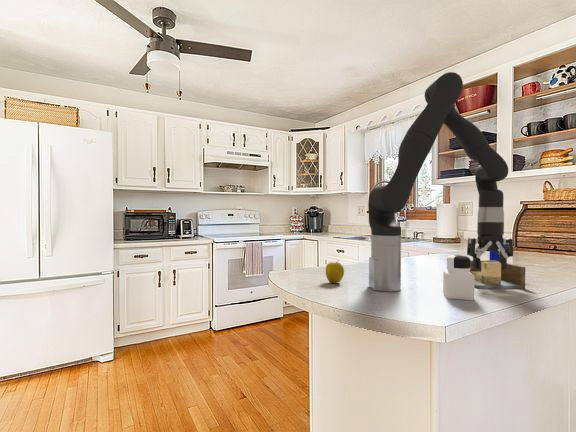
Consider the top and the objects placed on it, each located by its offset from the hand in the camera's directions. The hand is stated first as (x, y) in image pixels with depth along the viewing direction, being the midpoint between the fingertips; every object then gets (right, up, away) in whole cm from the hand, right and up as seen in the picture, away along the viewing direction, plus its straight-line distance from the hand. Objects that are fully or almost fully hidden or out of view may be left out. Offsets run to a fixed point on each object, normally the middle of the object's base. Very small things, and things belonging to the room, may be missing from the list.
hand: (489, 269), depth 107 cm
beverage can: (+15, -6, +19) cm, 25 cm away
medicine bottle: (-18, -6, -14) cm, 23 cm away
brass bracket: (0, -5, +3) cm, 6 cm away
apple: (-52, -6, +3) cm, 52 cm away
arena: (+1, -6, +4) cm, 7 cm away
